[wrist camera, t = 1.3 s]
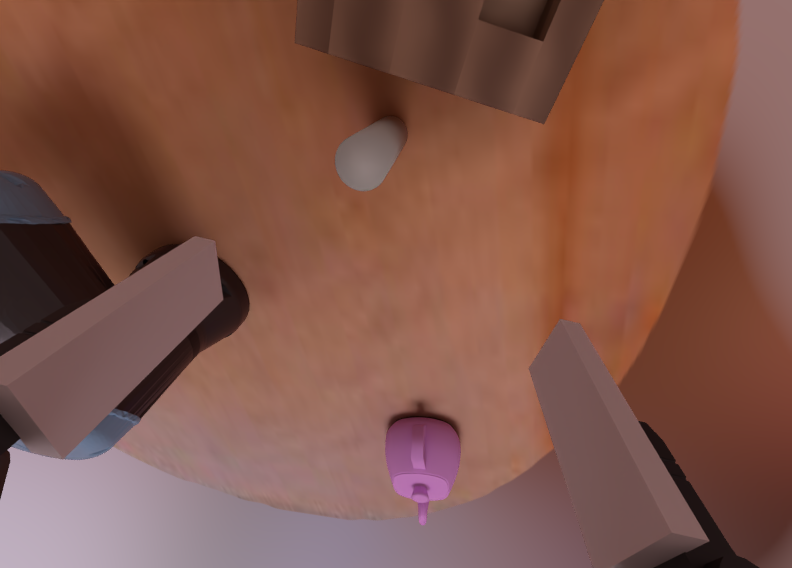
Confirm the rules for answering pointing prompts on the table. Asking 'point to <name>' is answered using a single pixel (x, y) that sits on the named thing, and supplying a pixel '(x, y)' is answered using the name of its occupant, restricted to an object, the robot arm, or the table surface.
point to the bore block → (458, 44)
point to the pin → (370, 153)
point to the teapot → (422, 460)
